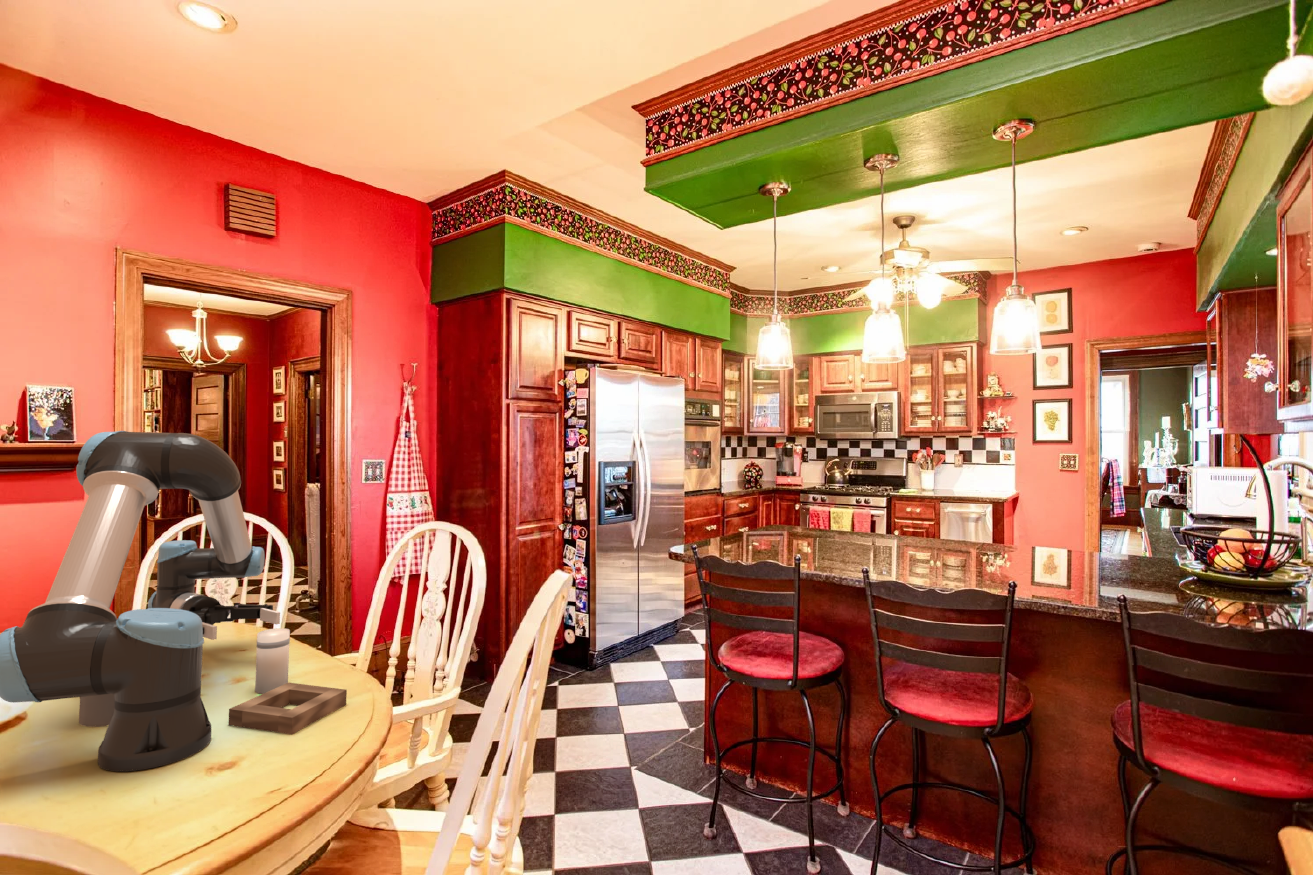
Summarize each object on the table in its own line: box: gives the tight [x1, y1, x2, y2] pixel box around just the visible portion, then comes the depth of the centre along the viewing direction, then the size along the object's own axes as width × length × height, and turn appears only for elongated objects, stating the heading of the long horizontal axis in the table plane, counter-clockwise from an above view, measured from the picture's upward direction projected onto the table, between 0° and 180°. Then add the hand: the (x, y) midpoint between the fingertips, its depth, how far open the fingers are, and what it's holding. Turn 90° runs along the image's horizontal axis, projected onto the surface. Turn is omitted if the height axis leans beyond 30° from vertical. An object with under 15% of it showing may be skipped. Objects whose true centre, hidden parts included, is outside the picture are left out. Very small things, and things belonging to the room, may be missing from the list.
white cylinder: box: [254, 627, 291, 695], centre depth 136 cm, size 6×6×12 cm
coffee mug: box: [78, 694, 115, 728], centre depth 122 cm, size 13×10×10 cm
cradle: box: [228, 682, 348, 735], centre depth 123 cm, size 14×14×3 cm
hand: (248, 625), depth 141 cm, fingers open, 13 cm apart
